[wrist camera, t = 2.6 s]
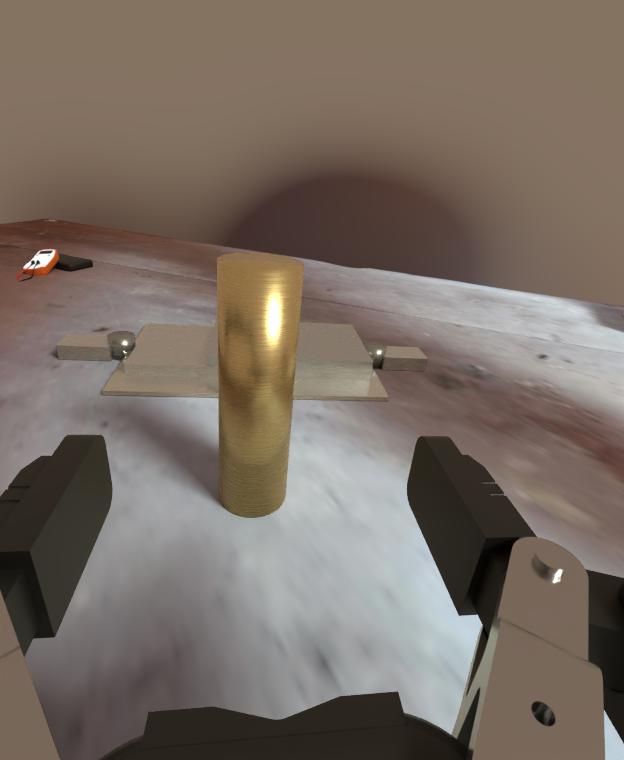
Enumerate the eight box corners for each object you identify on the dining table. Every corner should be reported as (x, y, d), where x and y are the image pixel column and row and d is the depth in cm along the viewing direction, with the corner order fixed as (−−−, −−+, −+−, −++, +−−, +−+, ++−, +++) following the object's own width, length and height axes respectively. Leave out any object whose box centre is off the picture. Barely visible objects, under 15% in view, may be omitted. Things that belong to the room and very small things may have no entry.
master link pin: (205, 502, 25) (199, 261, 19) (241, 465, 29) (246, 249, 22) (265, 527, 24) (279, 277, 18) (296, 485, 27) (317, 262, 21)
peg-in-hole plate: (25, 393, 34) (18, 365, 33) (93, 324, 48) (90, 303, 47) (449, 402, 39) (455, 378, 38) (398, 337, 53) (402, 318, 52)
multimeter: (1, 299, 54) (-5, 272, 53) (-57, 281, 58) (-65, 256, 57) (115, 275, 69) (113, 253, 68) (62, 262, 73) (59, 242, 72)
